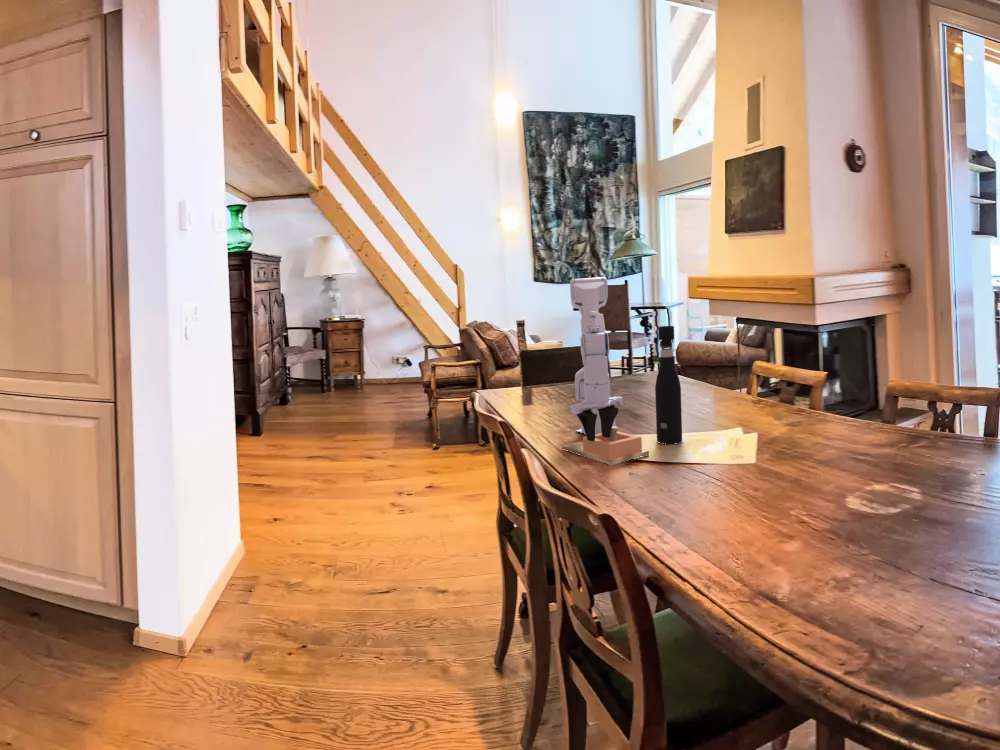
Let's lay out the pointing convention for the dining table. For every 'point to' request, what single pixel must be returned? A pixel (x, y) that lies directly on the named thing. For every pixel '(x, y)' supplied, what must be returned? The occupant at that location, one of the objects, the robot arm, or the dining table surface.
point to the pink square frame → (613, 445)
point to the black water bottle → (668, 392)
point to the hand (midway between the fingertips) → (598, 438)
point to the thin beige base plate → (578, 449)
